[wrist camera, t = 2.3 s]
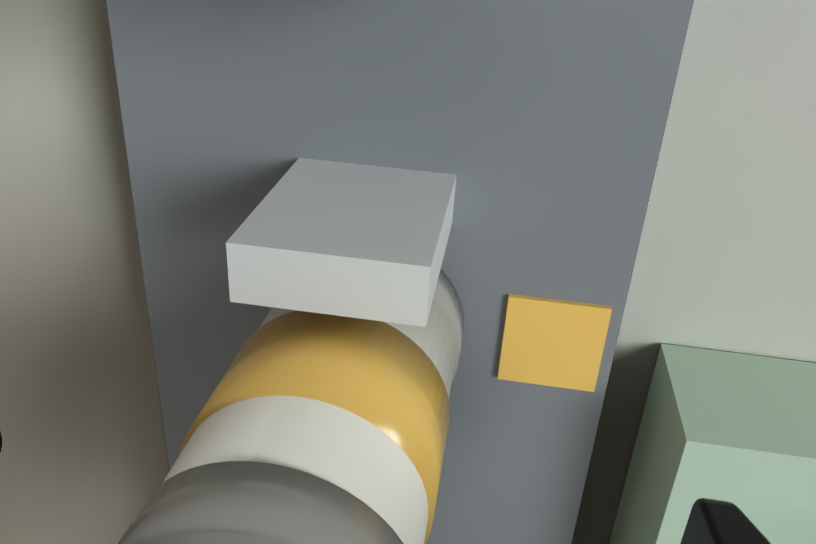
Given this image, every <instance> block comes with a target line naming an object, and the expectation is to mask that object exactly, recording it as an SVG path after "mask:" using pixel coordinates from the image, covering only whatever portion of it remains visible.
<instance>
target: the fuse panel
mask: <svg viewBox="0 0 816 544" xmlns="http://www.w3.org/2000/svg"><path fill="white" fill-rule="evenodd" d="M693 1H694V0H106V4H107V11H108V19H109V26H110V34H111V41H112V49H113V56H114V63H115V71H116V78H117V86H118V93H119V101H120V108H121V115H122V123H123V130H124V138H125V145H126V152H127V160H128V167H129V175H130V182H131V190H132V197H133V204H134V212H135V219H136V227H137V234H138V242H139V249H140V256H141V264H142V271H143V279H144V286H145V294H146V301H147V308H148V316H149V323H150V331H151V338H152V346H153V353H154V360H155V368H156V375H157V383H158V390H159V397H160V405H161V412H162V420H163V427H164V435H165V442H166V449H167V457H168V464H169V471H170V470H171V468H172V466H173V465H174V463H175V462H176V460H177V458H178V457H179V452H180V449H181V446H182V443H183V440H184V439H185V437H186V435H187V433H188V431H189V429H190V428H191V426H192V425H193V423H194V422H195V420H196V418H197V417H198V415H199V414H200V412H201V411H202V409H203V407H204V406H205V404H206V403H207V401H208V400H209V398H210V396H211V395H212V393H213V392H214V390H215V389H216V387H217V385H218V384H219V382H220V381H221V379H222V378H223V376H224V375H225V373H226V371H227V370H228V368H229V367H230V365H231V364H232V362H233V360H234V359H235V357H236V356H237V354H238V353H239V351H240V349H241V348H242V346H243V345H244V343H245V342H246V341H247V340H248V338H249V337H250V336H251V335H252V334H253V333H254V332H255V331H256V330H257V329H259V327H260V326H261V324H262V323H263V321H264V319H265V318H266V316H267V315H268V313H269V310H270V307H274V308H282V309H290V310H298V311H305V312H313V313H321V314H329V315H336V316H344V317H352V318H359V319H367V320H375V321H383V322H390V323H398V324H406V325H414V326H421V327H426V325H427V321H428V317H429V313H430V309H431V305H432V301H433V297H434V293H435V289H436V285H437V281H438V277H439V273H440V269H442V270H443V272H444V273H445V274H446V275H447V277H448V278H449V279H450V281H451V283H452V284H453V286H454V287H455V289H456V292H457V294H458V296H459V298H460V302H461V305H462V309H463V316H464V332H463V338H462V344H461V350H460V356H459V362H458V367H457V371H456V374H455V376H454V379H453V381H452V384H451V389H450V395H449V405H450V421H449V427H448V433H447V439H446V445H445V451H444V457H443V463H442V469H441V476H440V482H439V488H438V494H437V500H436V506H435V512H434V518H433V523H432V529H431V532H430V535H429V537H428V540H427V542H426V544H571V543H572V539H573V535H574V530H575V526H576V521H577V517H578V512H579V508H580V503H581V499H582V495H583V490H584V486H585V481H586V477H587V472H588V468H589V463H590V459H591V455H592V450H593V446H594V441H595V437H596V432H597V428H598V423H599V419H600V415H601V410H602V406H603V401H604V397H605V392H606V388H607V384H608V379H609V375H610V370H611V366H612V361H613V357H614V352H615V348H616V344H617V339H618V335H619V330H620V326H621V321H622V317H623V312H624V308H625V304H626V299H627V295H628V290H629V286H630V281H631V277H632V272H633V268H634V264H635V259H636V255H637V250H638V246H639V241H640V237H641V232H642V228H643V224H644V219H645V215H646V210H647V206H648V201H649V197H650V192H651V188H652V184H653V179H654V175H655V170H656V166H657V161H658V157H659V153H660V148H661V144H662V139H663V135H664V130H665V126H666V121H667V117H668V113H669V108H670V104H671V99H672V95H673V90H674V86H675V81H676V77H677V73H678V68H679V64H680V59H681V55H682V50H683V46H684V41H685V37H686V33H687V28H688V24H689V19H690V15H691V10H692V6H693Z"/></svg>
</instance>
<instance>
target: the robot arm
mask: <svg viewBox="0 0 816 544" xmlns="http://www.w3.org/2000/svg"><path fill="white" fill-rule="evenodd" d="M1 447H2V436H1V432H0V451H1ZM680 544H771V543H770V542H769V541H768V539H767V538H766V537H765V536H764V535H763V534H762V533H761V532H760V531H759V530H758V528H757V527H756V526H755V525H754V524H753V523H752V522H751V521H750V520H749V518H748V517H747V516H746V515H745V514H744V513H743V512H742V511H741V510H740V509H739V508H738V507H737V506H736V505H735V504H733V503H731V502H728V501H721V500H715V499H708V498H700V499H697V500H696V501H695V503H694V504H693V506H692V509H691V512H690V515H689V518H688V521H687V525H686V528H685V531H684V534H683V537H682V540H681V543H680Z"/></svg>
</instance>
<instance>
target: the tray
mask: <svg viewBox="0 0 816 544" xmlns="http://www.w3.org/2000/svg"><path fill="white" fill-rule="evenodd" d="M700 498H708V499H715V500H721V501H728V502H731V503H733V504H735V505H736V506H737V507H738V508H739V509H740V510H741V511H742V512H743V513H744V514H745V515H746V516H747V517H748V518H749V520H750V521H751V522H752V523H753V524H754V525H755V526H756V527H757V528H758V530H759V531H760V532H761V533H762V534H763V535H764V536H765V537H766V538H767V539H768V541H769V542H770V543H771V544H816V363H811V362H803V361H795V360H787V359H779V358H772V357H764V356H756V355H748V354H740V353H732V352H724V351H717V350H709V349H701V348H693V347H685V346H677V345H669V344H661V345H660V349H659V353H658V357H657V361H656V365H655V369H654V372H653V376H652V380H651V384H650V388H649V392H648V396H647V399H646V403H645V407H644V411H643V415H642V419H641V423H640V426H639V430H638V434H637V438H636V442H635V446H634V449H633V453H632V457H631V461H630V465H629V469H628V473H627V476H626V480H625V484H624V488H623V492H622V496H621V500H620V503H619V507H618V511H617V515H616V519H615V523H614V527H613V530H612V534H611V538H610V542H609V544H680V543H681V540H682V537H683V534H684V531H685V528H686V525H687V521H688V518H689V515H690V512H691V509H692V506H693V504H694V503H695V501H696V500H697V499H700Z"/></svg>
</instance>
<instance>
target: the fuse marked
mask: <svg viewBox="0 0 816 544" xmlns="http://www.w3.org/2000/svg"><path fill="white" fill-rule="evenodd" d="M463 332H464V316H463V309H462V305H461V302H460V298H459V296H458V294H457V292H456V289H455V287H454V286H453V284H452V283H451V281H450V279H449V278H448V277H447V275H446V274H445V273H444V272H443V270H442V269H440V273H439V277H438V281H437V285H436V289H435V293H434V297H433V301H432V305H431V309H430V313H429V317H428V321H427V325H426V327H421V326H414V325H406V324H398V323H390V322H383V321H375V320H367V319H359V318H352V317H344V316H336V315H329V314H321V313H313V312H305V311H298V310H290V309H282V308H274V307H270V310H269V313H268V315H267V316H266V318H265V319H264V321H263V323H262V324H261V326H260V327H259V329H257V330H256V331H255V332H254V333H253V334H252V335H251V336H250V337H249V338H248V340H247V341H246V342H245V343H244V345H243V346H242V348H241V349H240V351H239V353H238V354H237V356H236V357H235V359H234V360H233V362H232V364H231V365H230V367H229V368H228V370H227V371H226V373H225V375H224V376H223V378H222V379H221V381H220V382H219V384H218V385H217V387H216V389H215V390H214V392H213V393H212V395H211V396H210V398H209V400H208V401H207V403H206V404H205V406H204V407H203V409H202V411H201V412H200V414H199V415H198V417H197V418H196V420H195V422H194V423H193V425H192V426H191V428H190V429H189V431H188V433H187V435H186V437H185V439H184V440H183V443H182V446H181V449H180V452H179V457H178V458H177V460H176V462H175V463H174V465H173V466H172V468H171V470H170V471H169V473H168V474H167V476H166V478H165V479H164V481H163V482H162V484H161V485H160V486H158V487H157V488H156V489H155V490H154V491H153V492H152V493H151V494H150V496H149V497H148V498H147V499H146V500H145V502H144V504H143V505H142V507H141V508H140V510H139V511H138V513H137V515H136V516H135V518H134V519H133V521H132V522H131V524H130V526H129V527H128V529H127V530H126V532H125V533H124V535H123V537H122V538H121V540H120V541H119V543H118V544H426V542H427V540H428V537H429V535H430V532H431V529H432V523H433V518H434V512H435V506H436V500H437V494H438V488H439V482H440V476H441V469H442V463H443V457H444V451H445V445H446V439H447V433H448V427H449V421H450V405H449V395H450V389H451V384H452V381H453V379H454V376H455V374H456V371H457V367H458V362H459V356H460V350H461V344H462V338H463Z"/></svg>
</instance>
